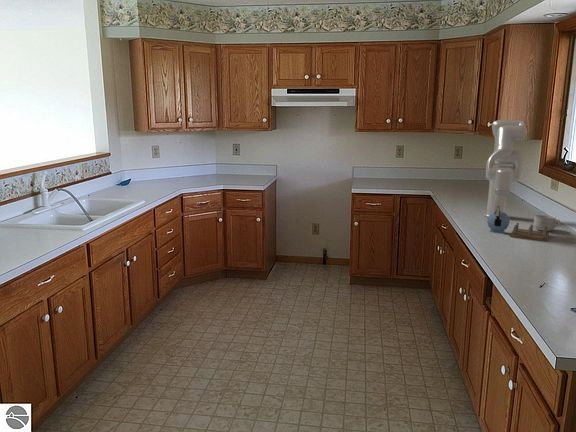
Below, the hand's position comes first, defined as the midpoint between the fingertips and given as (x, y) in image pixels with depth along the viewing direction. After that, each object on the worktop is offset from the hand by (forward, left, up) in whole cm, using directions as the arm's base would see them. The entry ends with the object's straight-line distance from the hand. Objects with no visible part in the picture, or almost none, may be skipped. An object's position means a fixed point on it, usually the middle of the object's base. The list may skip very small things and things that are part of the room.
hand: (497, 225), depth 266 cm
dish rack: (0, +16, -4) cm, 16 cm away
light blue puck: (0, 0, -4) cm, 4 cm away
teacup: (-18, +23, -4) cm, 29 cm away
